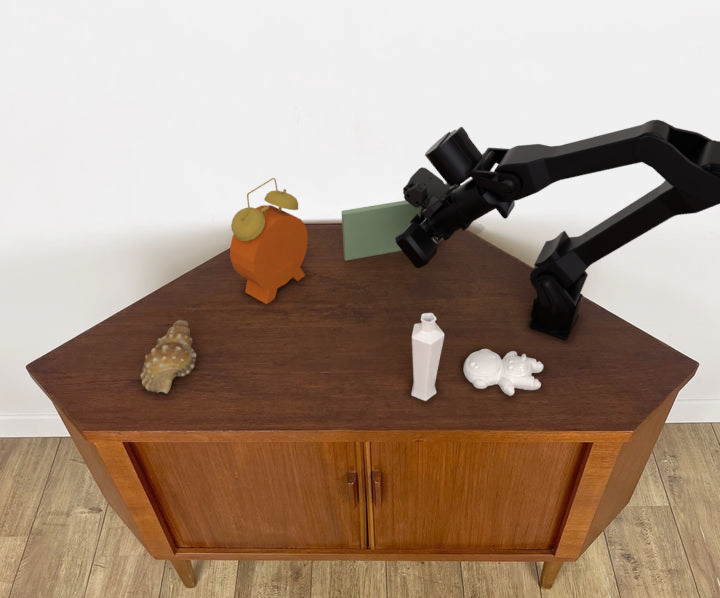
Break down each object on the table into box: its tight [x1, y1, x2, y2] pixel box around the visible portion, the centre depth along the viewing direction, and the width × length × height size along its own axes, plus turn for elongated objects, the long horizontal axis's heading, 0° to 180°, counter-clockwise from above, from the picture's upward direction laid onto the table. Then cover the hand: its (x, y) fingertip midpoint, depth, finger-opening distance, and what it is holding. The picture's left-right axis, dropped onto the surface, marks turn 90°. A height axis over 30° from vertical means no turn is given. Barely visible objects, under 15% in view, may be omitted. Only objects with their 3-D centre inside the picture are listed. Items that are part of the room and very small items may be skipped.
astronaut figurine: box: [462, 348, 544, 397], centre depth 102 cm, size 9×12×3 cm
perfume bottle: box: [410, 312, 445, 402], centre depth 96 cm, size 5×4×15 cm
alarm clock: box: [229, 177, 309, 305], centre depth 113 cm, size 13×6×20 cm, turn 141°
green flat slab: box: [341, 199, 422, 262], centre depth 121 cm, size 16×3×10 cm, turn 104°
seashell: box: [140, 319, 197, 395], centre depth 104 cm, size 9×8×10 cm
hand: (403, 242), depth 115 cm, fingers closed
